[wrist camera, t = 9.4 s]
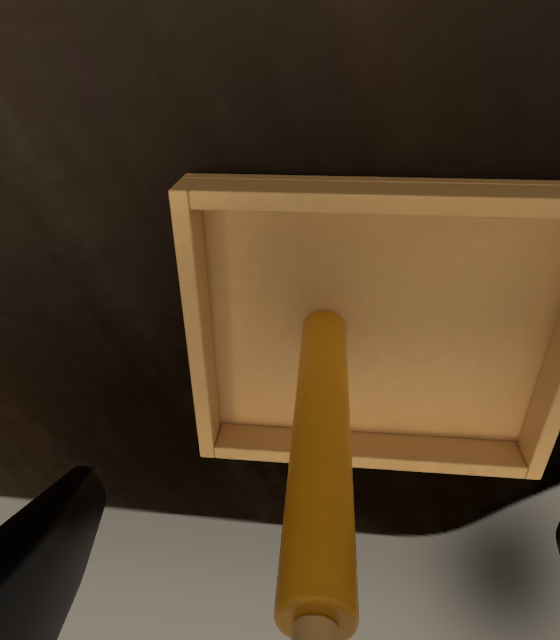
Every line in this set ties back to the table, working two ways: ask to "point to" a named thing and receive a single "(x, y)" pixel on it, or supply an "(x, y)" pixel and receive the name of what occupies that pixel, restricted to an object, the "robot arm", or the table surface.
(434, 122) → the table surface
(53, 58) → the table surface
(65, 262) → the table surface
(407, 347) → the tray
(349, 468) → the pencil
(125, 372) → the table surface
